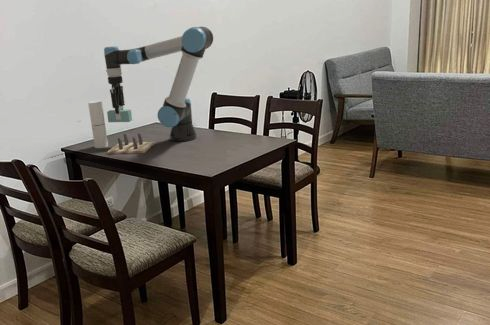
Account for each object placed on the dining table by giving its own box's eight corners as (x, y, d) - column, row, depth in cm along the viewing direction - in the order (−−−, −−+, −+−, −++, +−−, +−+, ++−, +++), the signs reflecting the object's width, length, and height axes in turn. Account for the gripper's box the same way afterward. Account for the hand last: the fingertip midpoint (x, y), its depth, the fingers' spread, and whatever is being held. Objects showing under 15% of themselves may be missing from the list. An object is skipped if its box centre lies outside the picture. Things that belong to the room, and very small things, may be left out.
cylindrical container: (104, 148, 267) (97, 102, 260) (92, 148, 269) (85, 103, 262) (110, 144, 274) (104, 100, 267) (98, 144, 276) (92, 100, 268)
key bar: (132, 120, 272) (130, 109, 270) (129, 122, 268) (128, 111, 266) (111, 120, 274) (110, 110, 272) (108, 122, 269) (107, 111, 268)
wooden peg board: (154, 143, 270) (152, 131, 268) (144, 152, 253) (142, 139, 251) (119, 144, 273) (117, 132, 271) (107, 153, 256) (105, 140, 253)
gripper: (114, 74, 272) (119, 115, 279) (101, 78, 256) (107, 122, 262) (127, 73, 271) (132, 115, 278) (115, 77, 255) (121, 121, 261)
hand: (120, 118), depth 270 cm, fingers closed on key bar, 4 cm apart
